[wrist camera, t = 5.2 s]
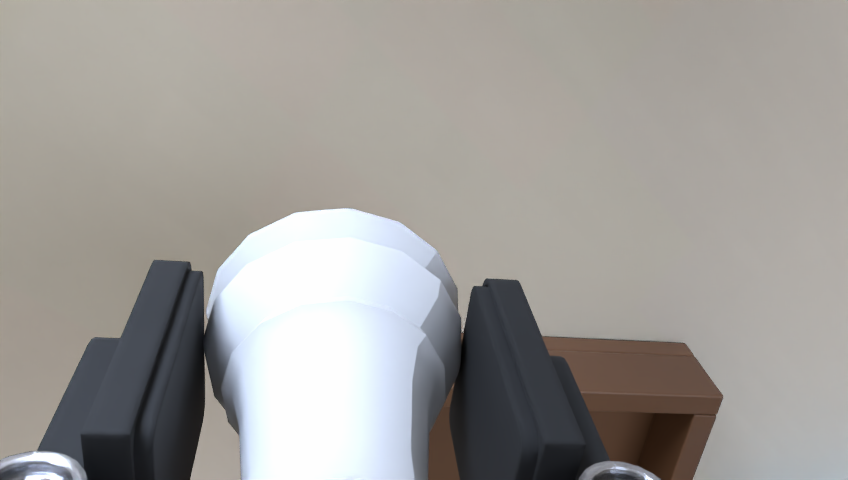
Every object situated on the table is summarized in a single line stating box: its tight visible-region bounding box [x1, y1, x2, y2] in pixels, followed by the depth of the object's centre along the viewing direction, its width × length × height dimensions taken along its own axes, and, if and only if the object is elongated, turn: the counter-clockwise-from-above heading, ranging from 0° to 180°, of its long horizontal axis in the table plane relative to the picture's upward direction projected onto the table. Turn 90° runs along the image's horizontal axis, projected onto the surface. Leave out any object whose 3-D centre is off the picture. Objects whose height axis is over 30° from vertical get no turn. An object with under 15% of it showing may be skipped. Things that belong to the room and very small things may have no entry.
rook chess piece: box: [203, 208, 462, 480], centre depth 10 cm, size 4×4×8 cm
